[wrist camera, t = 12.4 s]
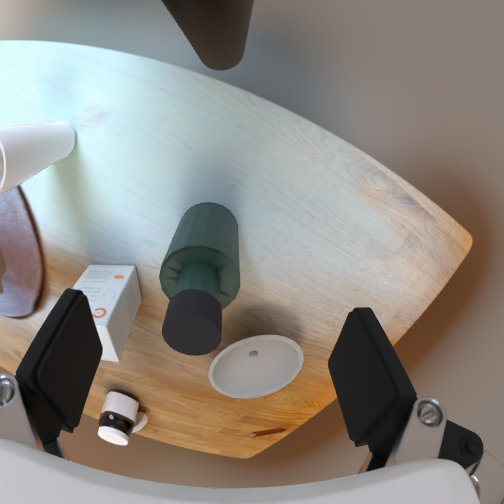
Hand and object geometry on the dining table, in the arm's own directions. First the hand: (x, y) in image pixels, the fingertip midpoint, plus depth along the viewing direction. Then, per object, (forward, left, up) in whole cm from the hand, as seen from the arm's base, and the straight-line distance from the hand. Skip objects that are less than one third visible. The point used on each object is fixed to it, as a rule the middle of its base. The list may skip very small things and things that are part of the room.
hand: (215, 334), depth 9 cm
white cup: (-15, -18, -27) cm, 36 cm away
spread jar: (+35, -45, -27) cm, 63 cm away
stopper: (+6, -6, -15) cm, 17 cm away
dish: (+29, -10, -27) cm, 41 cm away
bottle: (+6, -6, -27) cm, 28 cm away
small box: (+7, -23, -27) cm, 36 cm away
